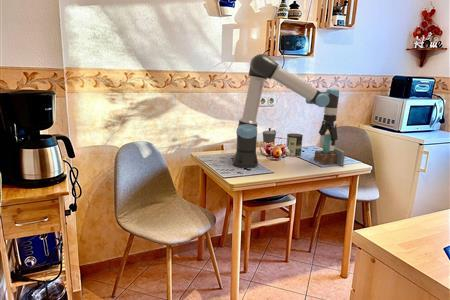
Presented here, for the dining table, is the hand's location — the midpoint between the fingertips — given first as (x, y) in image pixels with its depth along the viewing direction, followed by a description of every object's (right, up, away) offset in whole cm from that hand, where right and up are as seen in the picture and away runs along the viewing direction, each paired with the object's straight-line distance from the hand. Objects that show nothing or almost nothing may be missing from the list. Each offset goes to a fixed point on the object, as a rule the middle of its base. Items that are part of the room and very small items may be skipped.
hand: (326, 147), depth 210 cm
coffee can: (-18, -5, +16) cm, 24 cm away
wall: (+6, -9, +3) cm, 11 cm away
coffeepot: (-34, -4, +17) cm, 38 cm away
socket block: (0, -9, +2) cm, 9 cm away
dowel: (0, -7, +2) cm, 8 cm away
